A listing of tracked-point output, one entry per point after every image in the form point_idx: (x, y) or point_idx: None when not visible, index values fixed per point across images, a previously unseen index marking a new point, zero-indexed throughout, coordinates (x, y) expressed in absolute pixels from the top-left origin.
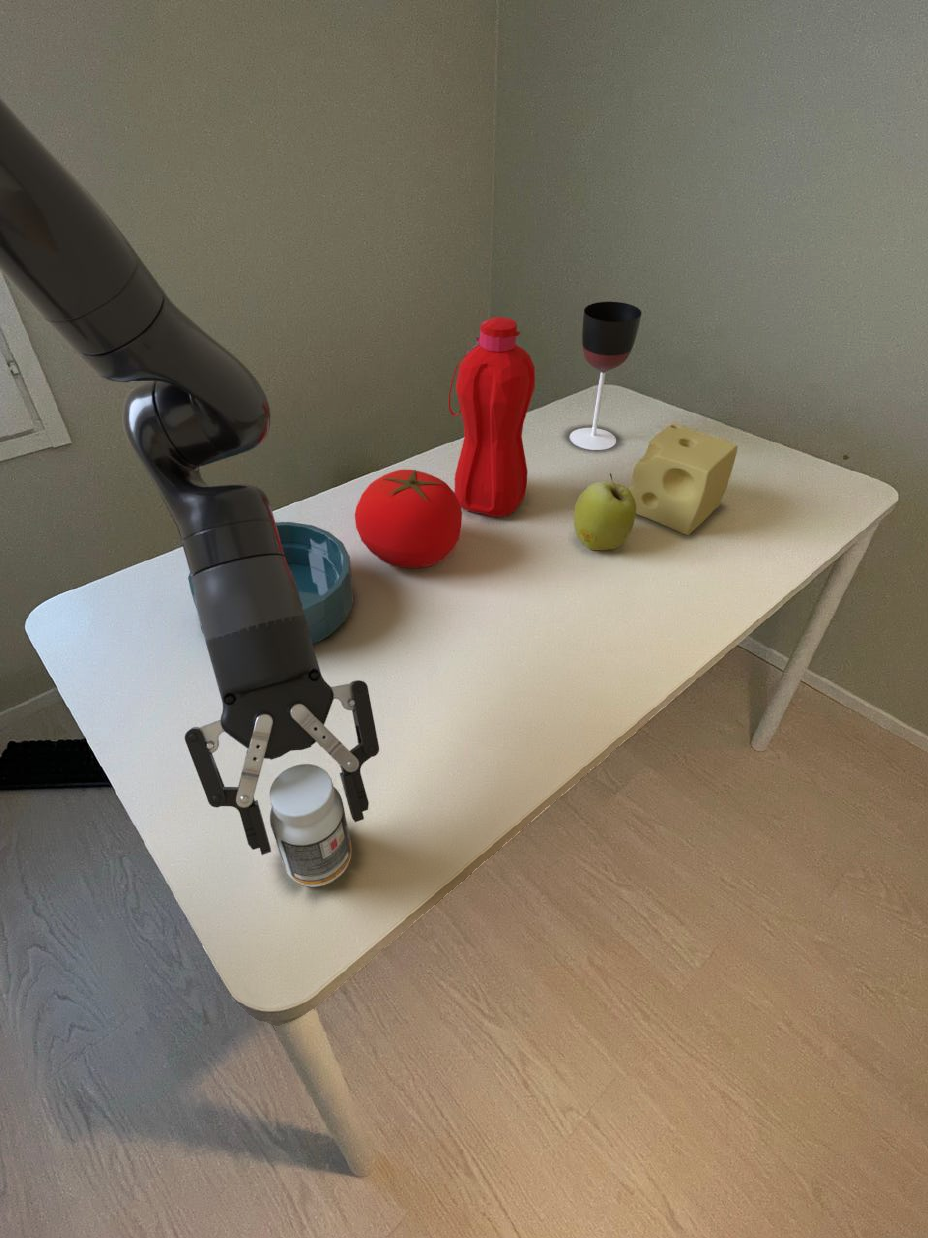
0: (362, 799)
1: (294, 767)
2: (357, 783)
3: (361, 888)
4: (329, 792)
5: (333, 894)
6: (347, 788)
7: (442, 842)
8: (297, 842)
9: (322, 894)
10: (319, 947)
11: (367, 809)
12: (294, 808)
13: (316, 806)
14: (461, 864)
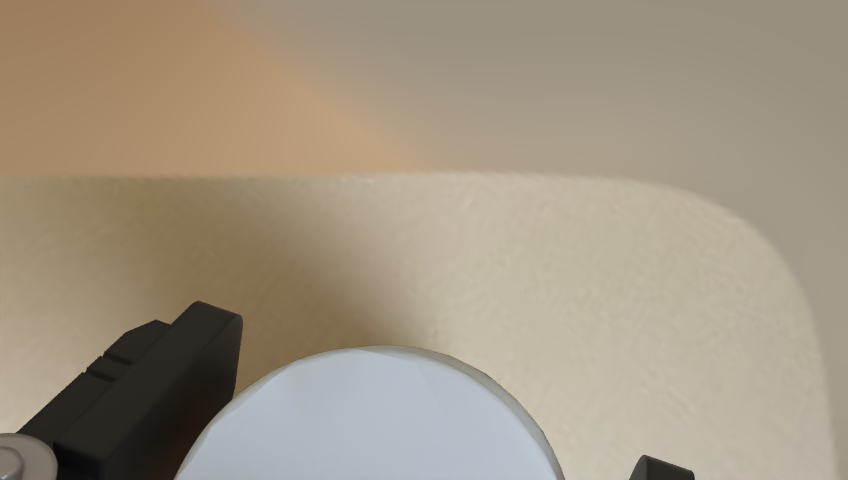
0: (133, 357)
1: None
2: (80, 413)
3: (359, 322)
4: (244, 399)
5: None
6: (143, 407)
7: (61, 274)
8: (517, 401)
9: None
10: (566, 255)
11: (155, 320)
12: (476, 452)
13: (365, 367)
14: (80, 179)
